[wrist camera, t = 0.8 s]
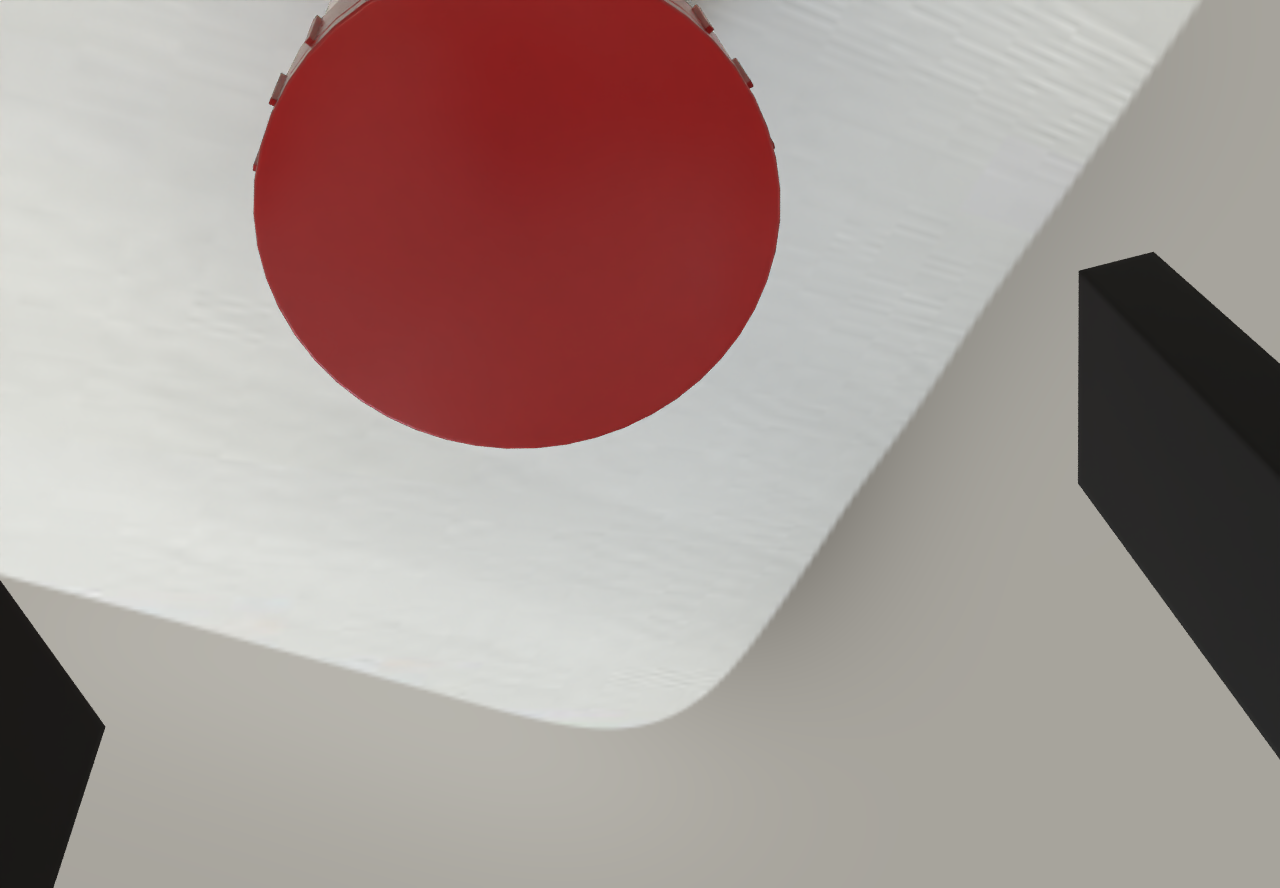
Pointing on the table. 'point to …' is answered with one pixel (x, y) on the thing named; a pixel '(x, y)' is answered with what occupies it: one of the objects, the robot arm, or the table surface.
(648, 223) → the lid
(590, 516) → the table surface
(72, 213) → the table surface
